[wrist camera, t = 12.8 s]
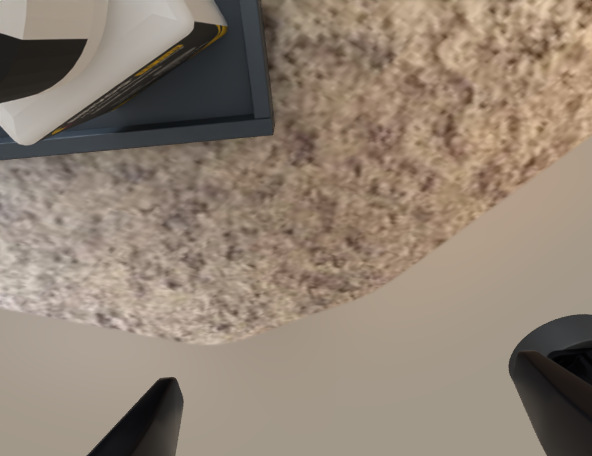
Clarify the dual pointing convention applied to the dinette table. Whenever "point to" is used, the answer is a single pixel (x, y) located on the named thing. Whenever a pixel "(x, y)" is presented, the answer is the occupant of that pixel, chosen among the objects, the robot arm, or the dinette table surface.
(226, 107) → the tray
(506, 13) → the dinette table surface
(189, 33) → the medicine bottle
